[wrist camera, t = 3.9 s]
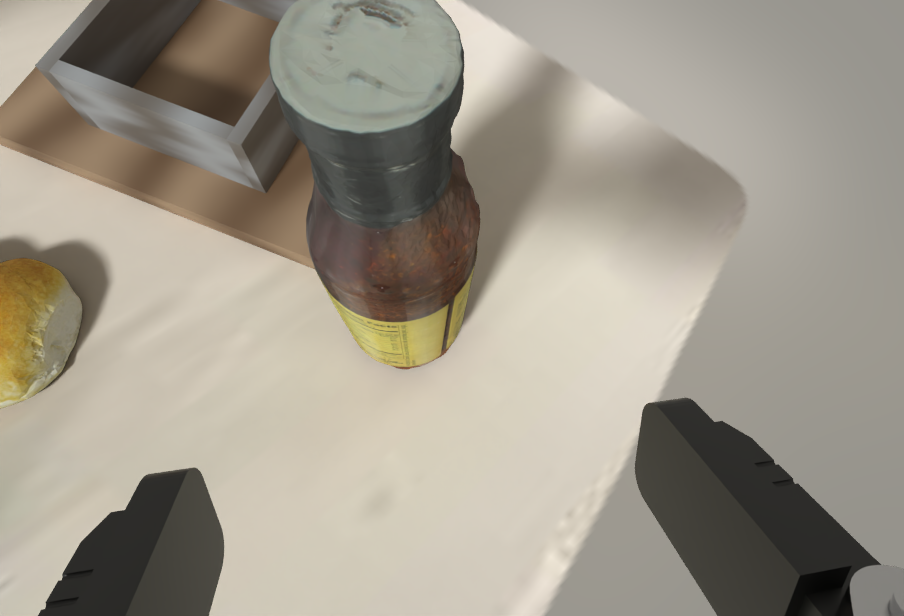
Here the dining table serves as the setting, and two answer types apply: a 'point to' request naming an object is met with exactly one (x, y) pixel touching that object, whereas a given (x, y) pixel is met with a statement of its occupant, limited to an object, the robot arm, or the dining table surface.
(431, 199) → the sauce bottle
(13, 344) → the bread roll
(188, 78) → the bottle stand
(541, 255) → the dining table surface
